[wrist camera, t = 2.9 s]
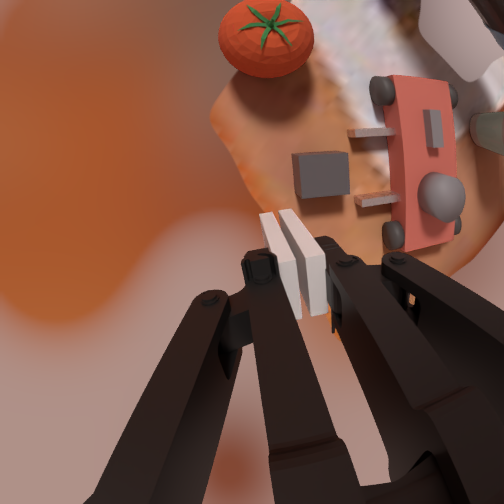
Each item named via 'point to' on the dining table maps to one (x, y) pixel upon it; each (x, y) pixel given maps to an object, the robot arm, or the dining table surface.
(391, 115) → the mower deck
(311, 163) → the grey cube
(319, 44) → the dining table surface
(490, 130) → the coffee cup
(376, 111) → the dining table surface
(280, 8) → the tomato
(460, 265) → the dining table surface
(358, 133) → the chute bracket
